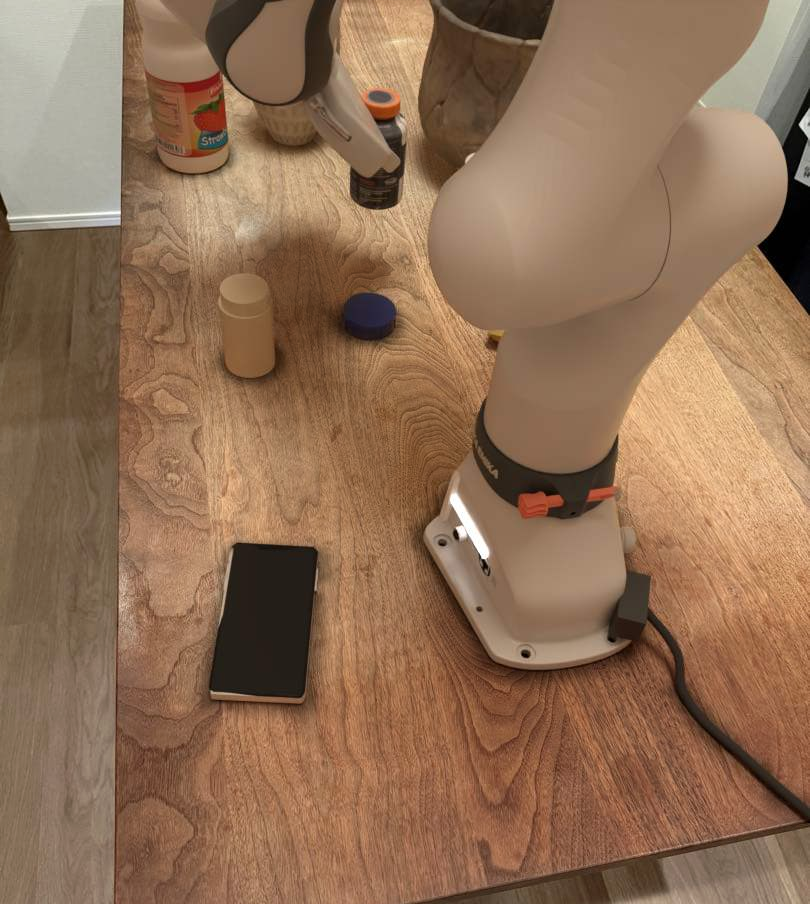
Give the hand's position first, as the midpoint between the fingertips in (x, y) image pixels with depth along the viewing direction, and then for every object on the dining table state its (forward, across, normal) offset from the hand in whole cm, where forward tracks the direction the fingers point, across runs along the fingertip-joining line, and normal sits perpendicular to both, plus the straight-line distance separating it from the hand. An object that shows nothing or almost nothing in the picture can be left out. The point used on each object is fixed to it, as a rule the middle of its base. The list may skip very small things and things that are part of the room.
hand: (384, 145), depth 93 cm
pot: (+28, +20, -5) cm, 34 cm away
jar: (-2, -13, +24) cm, 27 cm away
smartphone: (-5, -45, +28) cm, 53 cm away
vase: (+9, +32, +13) cm, 35 cm away
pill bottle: (+4, 0, +5) cm, 6 cm away
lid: (+7, -9, +13) cm, 17 cm away
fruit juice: (-1, +28, +23) cm, 37 cm away
